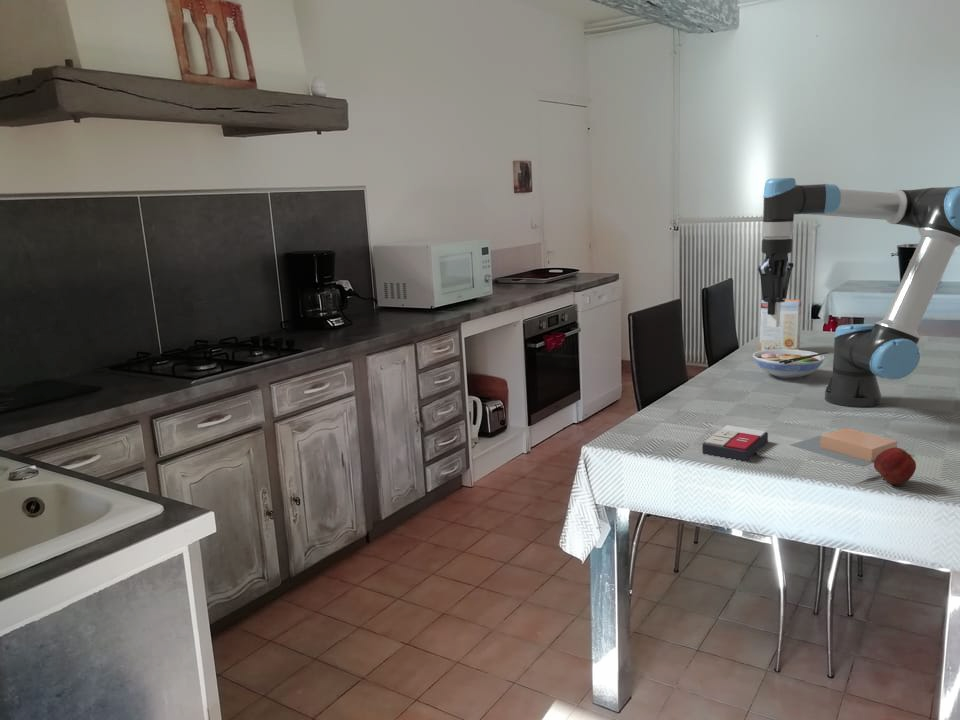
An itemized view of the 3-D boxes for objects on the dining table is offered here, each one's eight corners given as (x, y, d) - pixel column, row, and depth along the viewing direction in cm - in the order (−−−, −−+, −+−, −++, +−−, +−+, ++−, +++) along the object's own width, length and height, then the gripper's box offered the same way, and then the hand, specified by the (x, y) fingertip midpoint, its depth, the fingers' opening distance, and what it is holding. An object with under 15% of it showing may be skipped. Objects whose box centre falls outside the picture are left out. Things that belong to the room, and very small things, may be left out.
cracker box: (799, 352, 295) (802, 299, 290) (796, 355, 290) (799, 301, 285) (762, 350, 302) (764, 298, 298) (758, 352, 297) (760, 300, 293)
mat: (834, 434, 196) (834, 431, 196) (907, 453, 180) (907, 450, 180) (789, 447, 187) (789, 444, 187) (861, 469, 171) (862, 466, 171)
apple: (908, 492, 157) (911, 456, 156) (868, 484, 162) (870, 448, 161) (917, 482, 163) (920, 446, 161) (877, 474, 168) (880, 440, 166)
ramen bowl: (781, 365, 274) (782, 343, 272) (840, 377, 255) (841, 353, 253) (735, 376, 261) (736, 353, 259) (793, 388, 242) (794, 363, 240)
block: (845, 427, 188) (897, 440, 177) (845, 439, 189) (896, 453, 178) (820, 435, 183) (872, 449, 172) (820, 447, 184) (871, 462, 173)
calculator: (701, 440, 184) (725, 422, 195) (701, 457, 185) (725, 438, 197) (746, 448, 177) (768, 429, 189) (746, 465, 179) (768, 445, 190)
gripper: (778, 236, 206) (774, 321, 211) (750, 239, 199) (746, 327, 204) (804, 236, 200) (799, 324, 205) (775, 239, 193) (771, 331, 198)
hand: (773, 326), depth 204 cm, fingers closed
